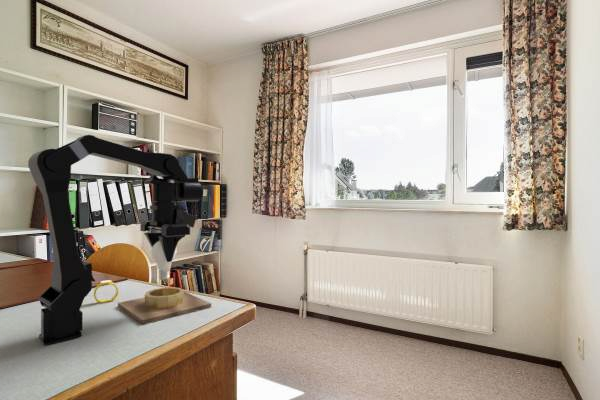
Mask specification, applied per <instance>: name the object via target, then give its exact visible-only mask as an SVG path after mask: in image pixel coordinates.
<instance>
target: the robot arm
mask: <svg viewBox="0 0 600 400" xmlns="http://www.w3.org/2000/svg"><path fill="white" fill-rule="evenodd" d="M89 155H90V156H93V157H99V158H102V159H106V160H110V161H113V162H118V163H122V164H124V165H125V164H126V165H129V166H134V167H137V168H138V169H141V170H143V172H145V173H148V174H151V175H150V176H149V177H148V178H147V179H146V180H144V182H143V184H145V185H152V205H149V210H152V220H143V221H142V222H141V223H140V225H139V226H140V227H139V228H140V232H144V236H145V237H146V240H147V241H148V243H149V245H150V247H151V248H152V247H153V245H154V244H155V243H156V242H157V241H159V240H160V243H161V245H162V249H163V252H164V255H165V258H166V260H167V262H171V261H172V258H173V255H174V252H175V249H176V247H178V243H179V241H181V240H182V239H183V238H185V237H186V236H188V235H189V236H190V235H191V228H192V229H194V227H195V224H196V221H197V218H198V217H197V216H196V215H193V214H190V213H187V211H184V210H181V209H180V205H177V203H176V201H178V202H200V200H202V198H203V195H204V189H203V186H202V185H201V183H200V182H199V178H198V177H189V178H188V176H187V175H186V173H185V172H184V170H183V168H182V167H181V165H180V162H179V160H178V157H177V156H176V155H174V154H171V153H165V152H164V153H163V152H151V151H143V150H141V149H137V148H133V147H129V146H127V145H124V144H120V143H116V142H113V141H109V140H106V139H103V138H99V137H96V136H95V135H92V134H85V135H82V136H79V137H77V138H76V139H75V140H74V141H70V142H69V143H67V144H64V145H61V146H60V147H58V148H47V149H44V150H40V151H37V152H35V153H33V154H32V155H31V156H30V157H29V159H28V161H27V162H28V168H29V171H30V174H31V176H32V178H33V179H32V180H33V181H34V183H35V184H36V186H37V187H38V188H37V189H39V191H40V193H41V195H42V198H43V204H44V209H45V213H46V214H45V215H46V221H47V226H48V227H47V228H48V232H49V237H50V241H51V247H52V253H53V257H54V259H53V264H52V269H51V282H50V285H49V287H48V288H46V290H44V291H43V292H42V293H41V294H40V296H38V298H37V299H38V301H39V303H40V305H41V306H42V307H44V308H41V309H40V333H39V335H38V336H39V339H40V341H41V343H42V345H43V346H46V345H52V344H55V343H60V342H64V341H67V340H72V339H76V338H79V337H82V335H83V333H82V331H83V314H84V313H83V311H82V310H81V308H82V305H83V303H84V300H85V298H86V297H87V296H89V293H90V292H91V291H92V289H93V282H96V279H95V278H94V277H93V276H94V275H93V266H92V263H91V262H89V261H85V260H82V259H81V257H80V254H79V250H78V244H77V238H76V232H75V227H74V226H75V225H74V221H73V220H74V219H73V215H72V214H73V213H72V209H71V203H70V199H69V188H70V182H71V179H72V165H75V164H77V163H79V162H81V161H82V160H83V159H85V158H87V157H88V156H89ZM172 262H173V261H172Z"/></svg>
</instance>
